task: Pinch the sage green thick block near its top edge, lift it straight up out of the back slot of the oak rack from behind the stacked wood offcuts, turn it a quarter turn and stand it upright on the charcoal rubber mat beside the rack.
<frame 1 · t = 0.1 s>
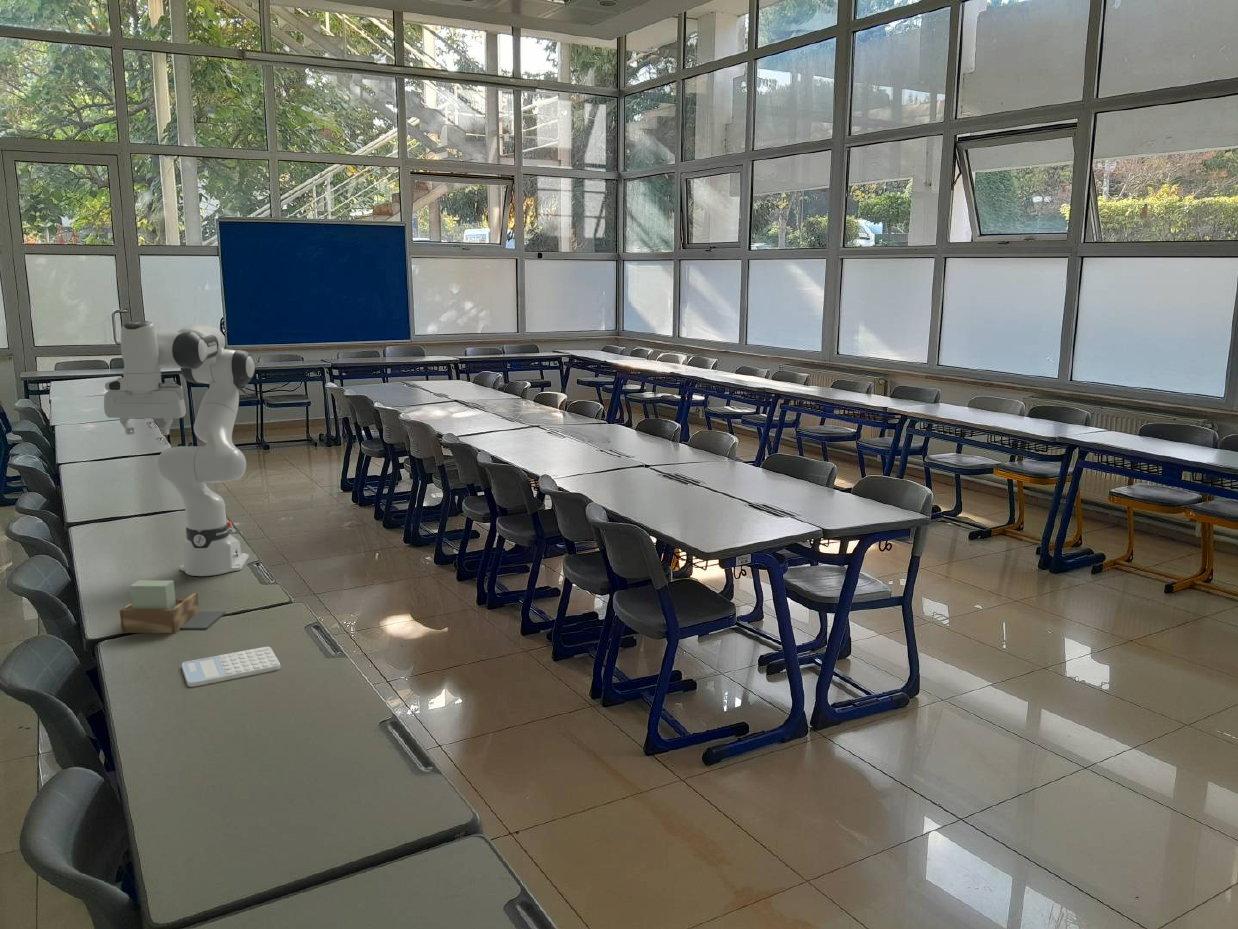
hand: (147, 434, 245), 48 cm above the table, fingers open, 8 cm apart
rack: (161, 622, 241), on the table
mat: (203, 621, 242), on the table
calculator: (231, 670, 214), on the table
sage green thick block: (156, 627, 238), resting in rack
offcut upper: (165, 608, 243), point 3 cm above the table
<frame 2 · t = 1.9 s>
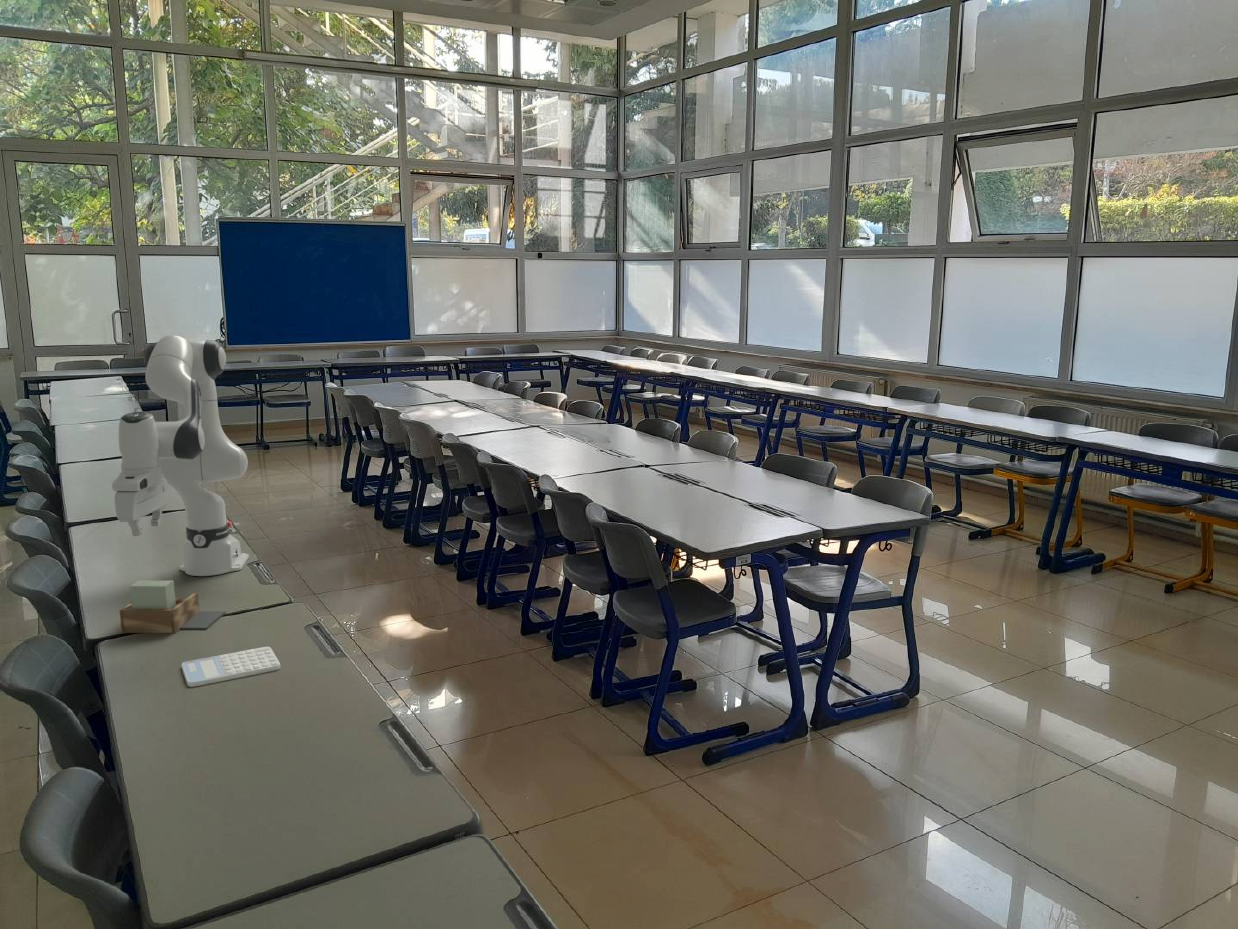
hand: (146, 530, 232), 26 cm above the table, fingers open, 8 cm apart
offcut upper: (167, 608, 243), point 3 cm above the table, touching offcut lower
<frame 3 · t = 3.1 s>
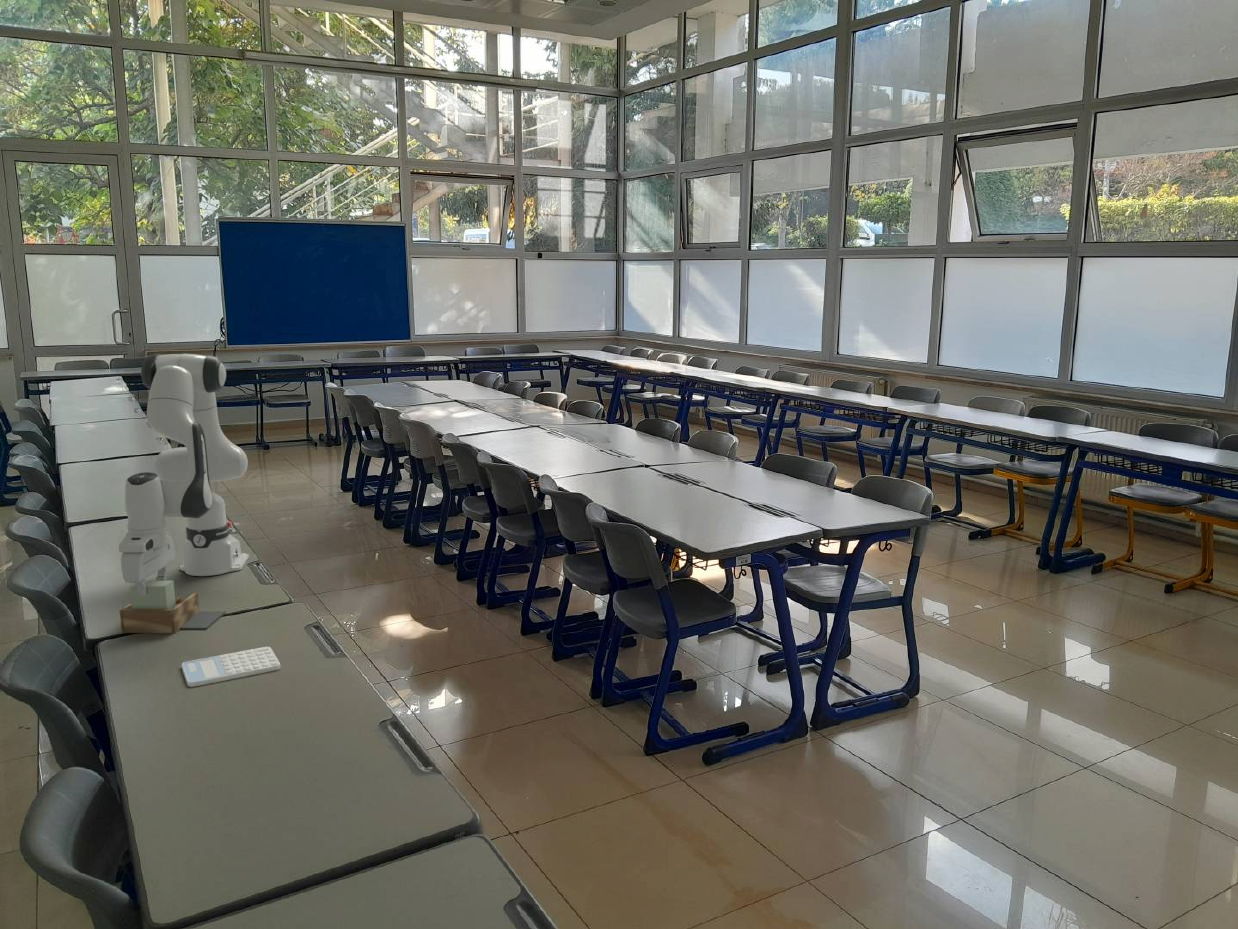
hand: (152, 589, 235), 10 cm above the table, fingers open, 8 cm apart
nothing on the table moved.
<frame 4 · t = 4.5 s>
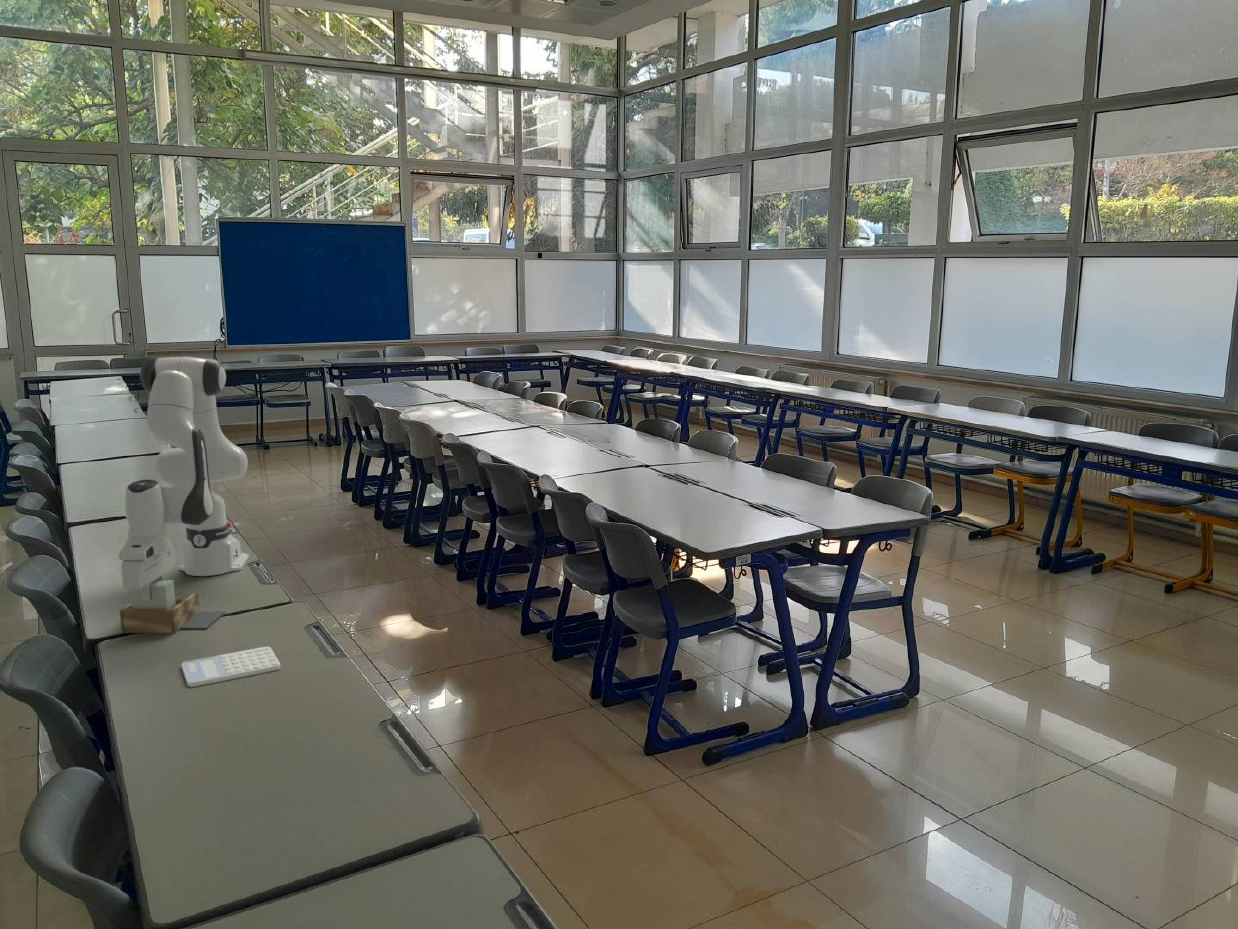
hand: (153, 595, 236), 9 cm above the table, fingers closed on sage green thick block, 4 cm apart
sage green thick block: (156, 627, 238), resting in rack, touching gripper
everything else where it was.
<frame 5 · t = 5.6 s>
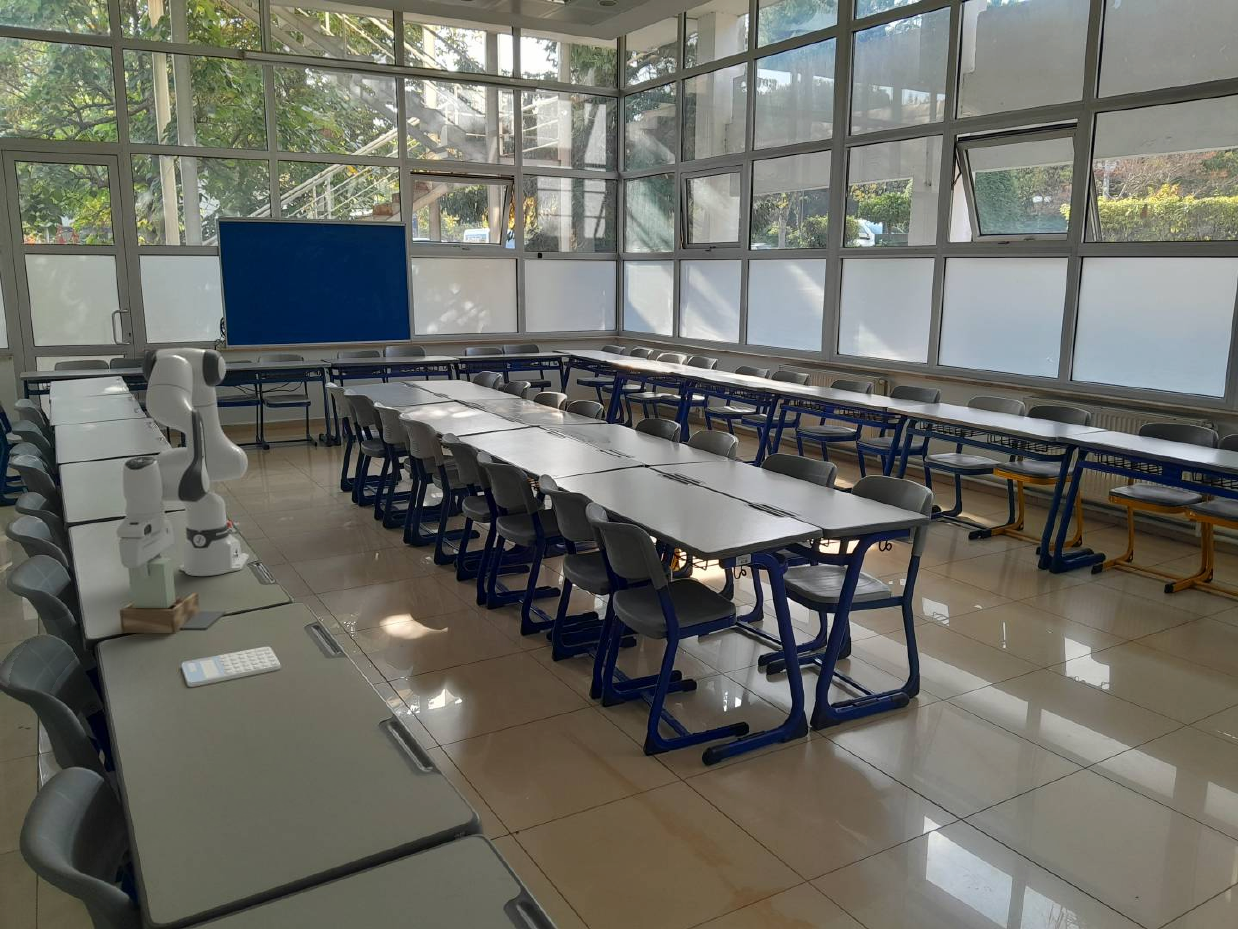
hand: (151, 573, 235), 15 cm above the table, fingers closed on sage green thick block, 4 cm apart
sage green thick block: (154, 605, 237), point 6 cm above the table, touching gripper
offcut upper: (167, 608, 244), point 3 cm above the table
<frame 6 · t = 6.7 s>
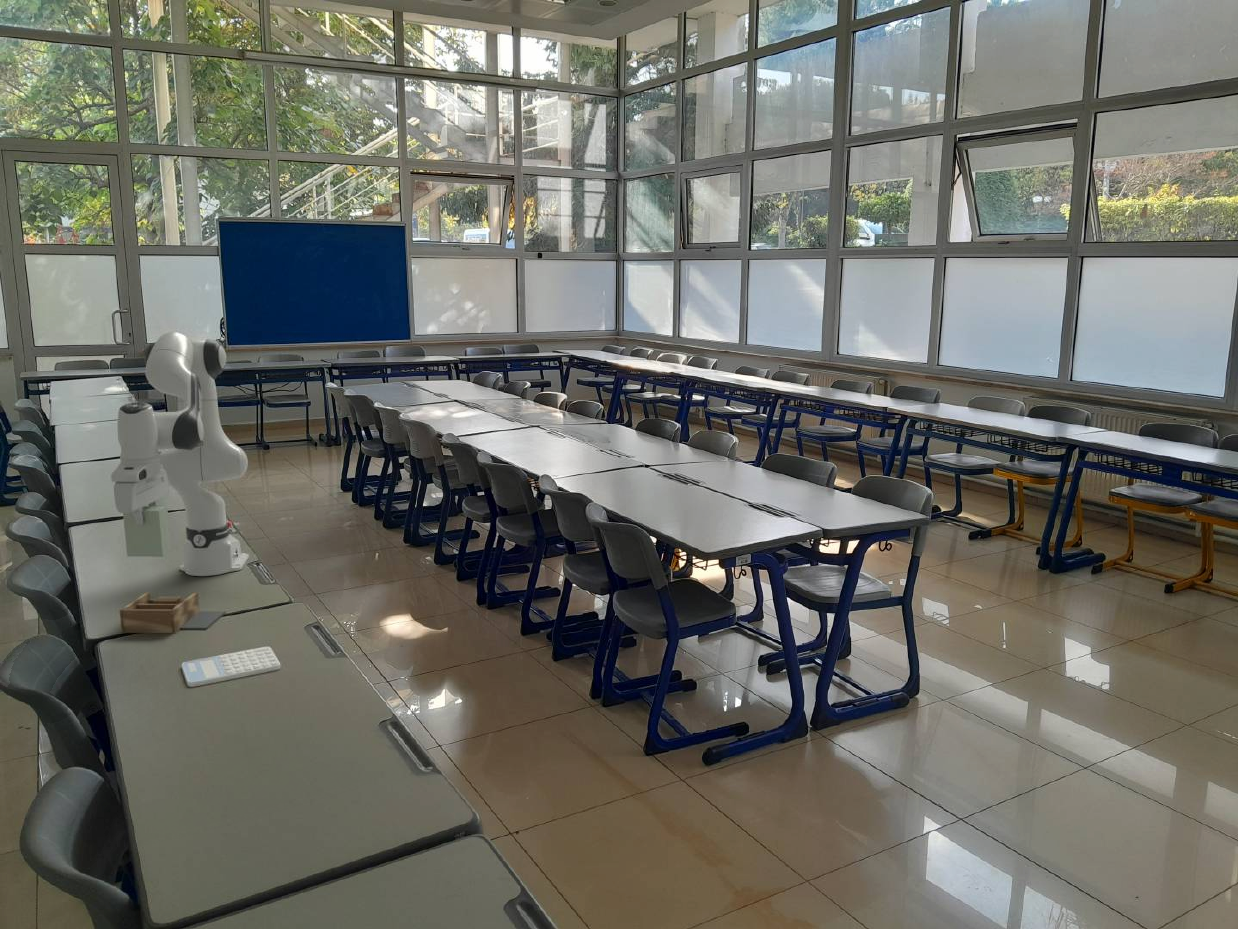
hand: (146, 521, 232), 28 cm above the table, fingers closed on sage green thick block, 4 cm apart
sage green thick block: (149, 554, 234), point 20 cm above the table, touching gripper
offcut upper: (168, 607, 244), point 3 cm above the table, touching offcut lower
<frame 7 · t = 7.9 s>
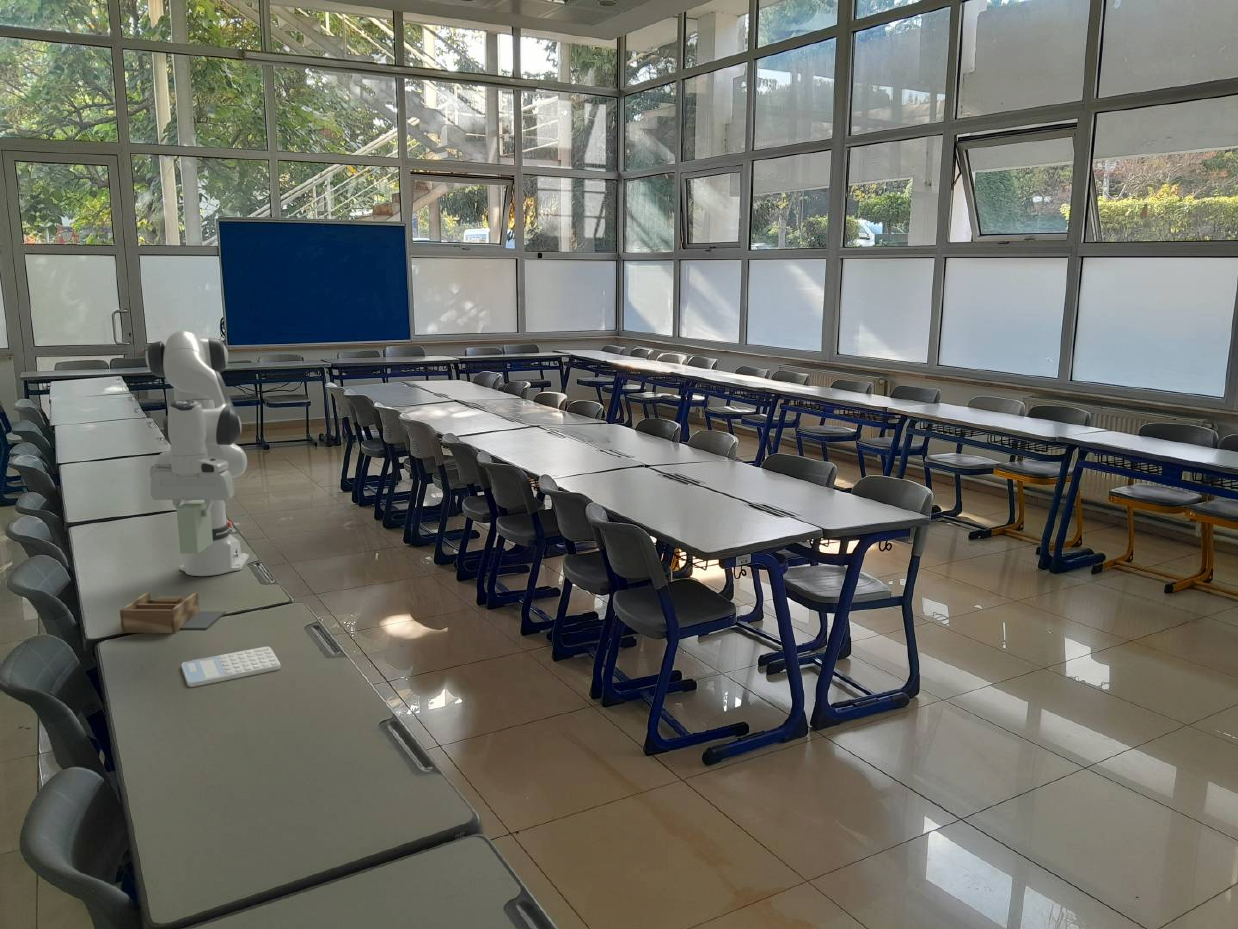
hand: (194, 516, 237), 29 cm above the table, fingers closed on sage green thick block, 4 cm apart
sage green thick block: (197, 548, 238), point 20 cm above the table, touching gripper
everything else where it was.
when the fingers open (10 cm above the table, at t = 12.1 s): sage green thick block stays where it is, resting on mat.
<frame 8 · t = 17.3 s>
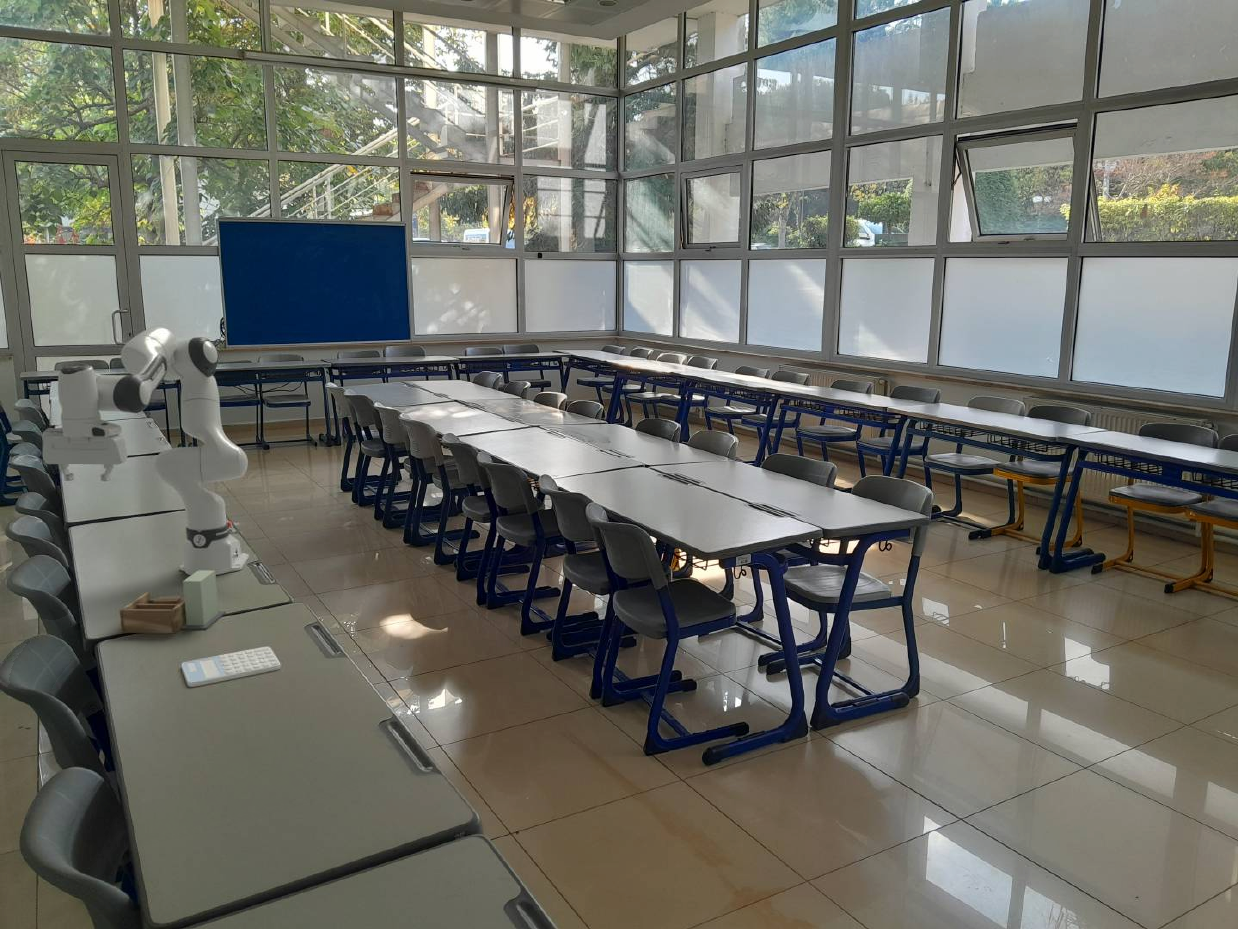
hand: (87, 480, 238), 37 cm above the table, fingers open, 8 cm apart
sage green thick block: (202, 619, 242), resting on mat
everything else where it was.
at the end: sage green thick block 0.2 cm from the mat (horizontally); sage green thick block tilted 0°; sage green thick block moved 11.2 cm from its start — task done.
